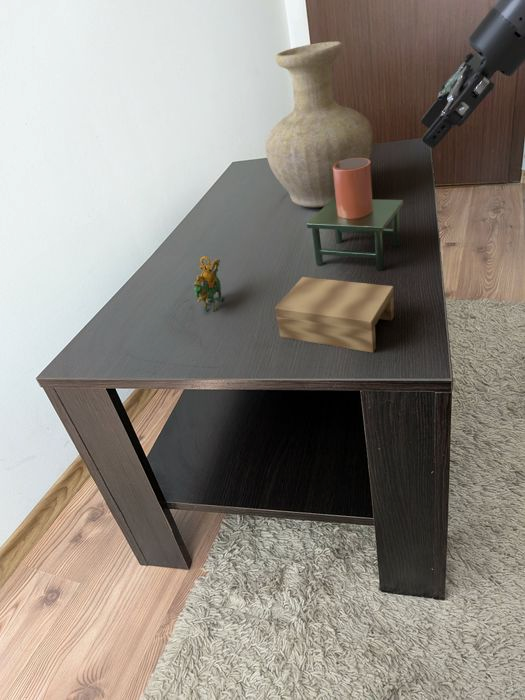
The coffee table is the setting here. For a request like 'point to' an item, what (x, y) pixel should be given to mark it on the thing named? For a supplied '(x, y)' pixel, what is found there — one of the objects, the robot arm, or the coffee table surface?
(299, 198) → the vase
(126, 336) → the coffee table surface
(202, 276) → the figurine
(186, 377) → the coffee table surface
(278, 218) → the coffee table surface
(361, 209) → the cup
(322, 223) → the green miniature table
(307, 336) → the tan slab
